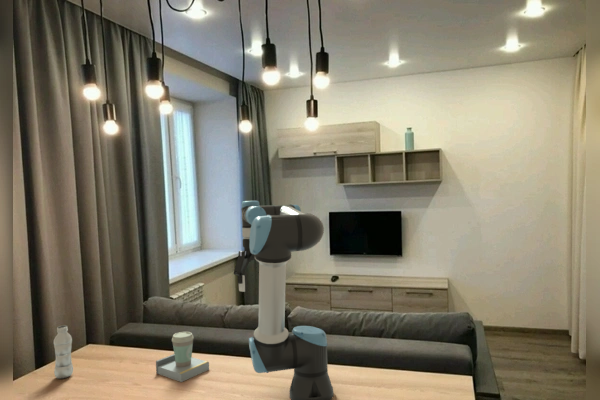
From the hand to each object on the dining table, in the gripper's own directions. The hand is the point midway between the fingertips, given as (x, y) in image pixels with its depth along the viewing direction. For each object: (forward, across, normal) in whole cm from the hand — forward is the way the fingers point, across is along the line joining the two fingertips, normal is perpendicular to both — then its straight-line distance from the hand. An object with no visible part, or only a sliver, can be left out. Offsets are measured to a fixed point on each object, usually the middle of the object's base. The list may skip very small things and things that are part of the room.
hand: (253, 288), depth 187 cm
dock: (+31, +24, -17) cm, 42 cm away
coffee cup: (+28, +24, -17) cm, 40 cm away
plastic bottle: (+31, +53, -54) cm, 82 cm away
